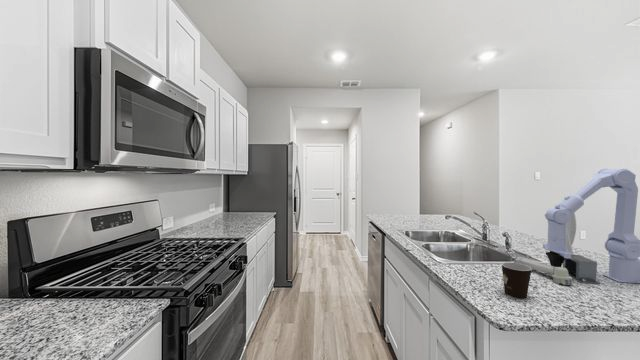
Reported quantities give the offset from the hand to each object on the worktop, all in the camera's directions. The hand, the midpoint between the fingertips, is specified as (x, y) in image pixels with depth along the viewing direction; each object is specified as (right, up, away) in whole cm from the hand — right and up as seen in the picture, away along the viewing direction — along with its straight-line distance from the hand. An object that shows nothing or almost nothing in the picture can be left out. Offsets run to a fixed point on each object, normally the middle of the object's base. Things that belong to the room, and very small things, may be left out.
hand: (555, 270), depth 118 cm
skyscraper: (+21, -2, +20) cm, 29 cm away
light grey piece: (-4, -3, +2) cm, 6 cm away
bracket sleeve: (+8, -2, -1) cm, 8 cm away
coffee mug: (-28, -3, -16) cm, 32 cm away
